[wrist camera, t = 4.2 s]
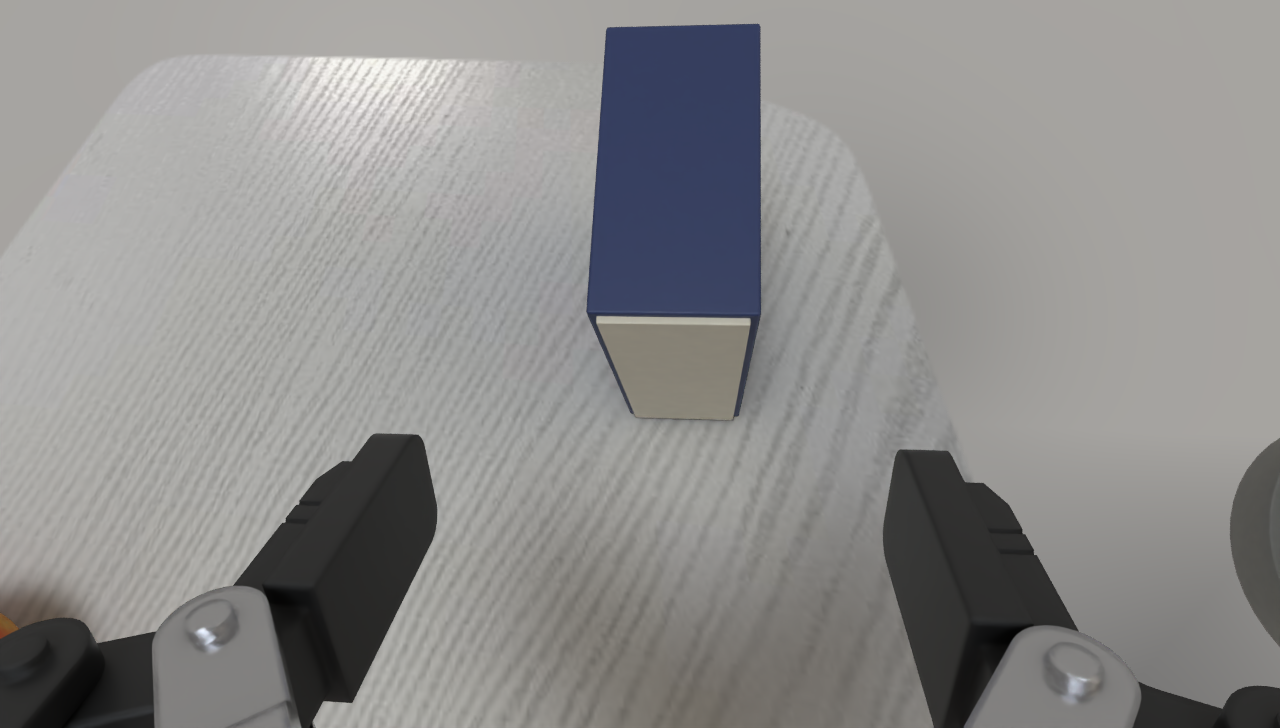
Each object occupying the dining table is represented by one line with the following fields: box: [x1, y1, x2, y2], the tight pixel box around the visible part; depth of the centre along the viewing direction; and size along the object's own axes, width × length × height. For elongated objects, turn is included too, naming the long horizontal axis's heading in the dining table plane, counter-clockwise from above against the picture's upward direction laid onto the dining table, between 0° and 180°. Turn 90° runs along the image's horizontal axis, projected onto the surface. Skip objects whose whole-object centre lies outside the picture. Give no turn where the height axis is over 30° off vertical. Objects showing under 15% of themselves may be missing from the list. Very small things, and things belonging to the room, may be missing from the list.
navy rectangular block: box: [586, 24, 761, 420], centre depth 25 cm, size 4×9×12 cm, turn 177°
